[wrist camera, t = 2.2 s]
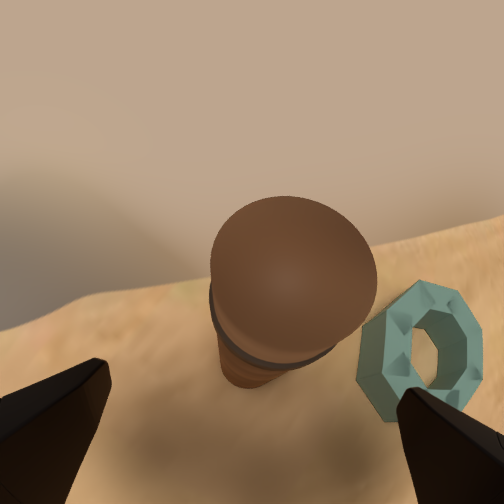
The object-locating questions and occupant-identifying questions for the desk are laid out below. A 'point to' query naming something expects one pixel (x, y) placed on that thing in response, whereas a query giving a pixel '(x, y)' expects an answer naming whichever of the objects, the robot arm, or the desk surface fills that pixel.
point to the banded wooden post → (286, 287)
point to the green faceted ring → (400, 342)
